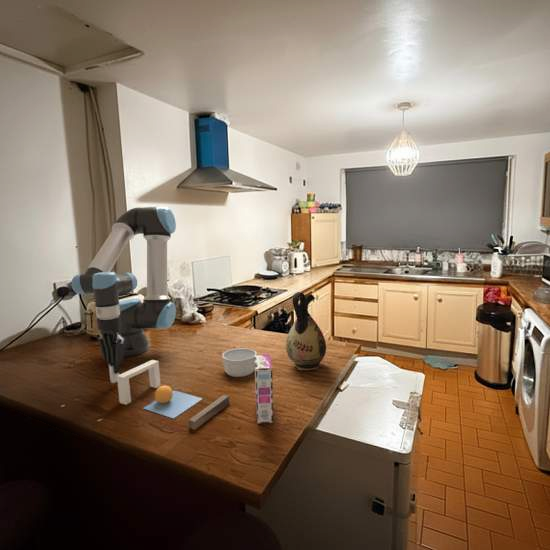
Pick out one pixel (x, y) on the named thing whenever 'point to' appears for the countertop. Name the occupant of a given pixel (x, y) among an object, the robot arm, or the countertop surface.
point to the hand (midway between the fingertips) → (115, 381)
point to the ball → (163, 394)
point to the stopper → (208, 412)
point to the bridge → (124, 377)
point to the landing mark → (174, 405)
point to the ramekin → (239, 362)
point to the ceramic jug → (305, 336)
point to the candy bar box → (263, 389)
